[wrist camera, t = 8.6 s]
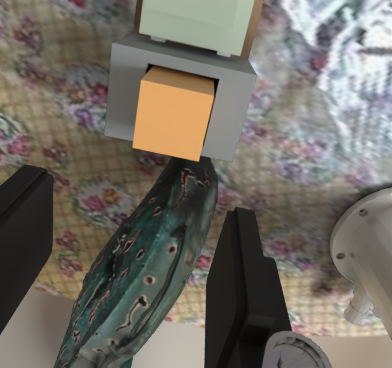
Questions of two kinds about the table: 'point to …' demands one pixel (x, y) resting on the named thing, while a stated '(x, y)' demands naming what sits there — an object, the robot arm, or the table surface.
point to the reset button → (173, 112)
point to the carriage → (198, 22)
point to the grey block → (185, 61)
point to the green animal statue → (142, 269)
